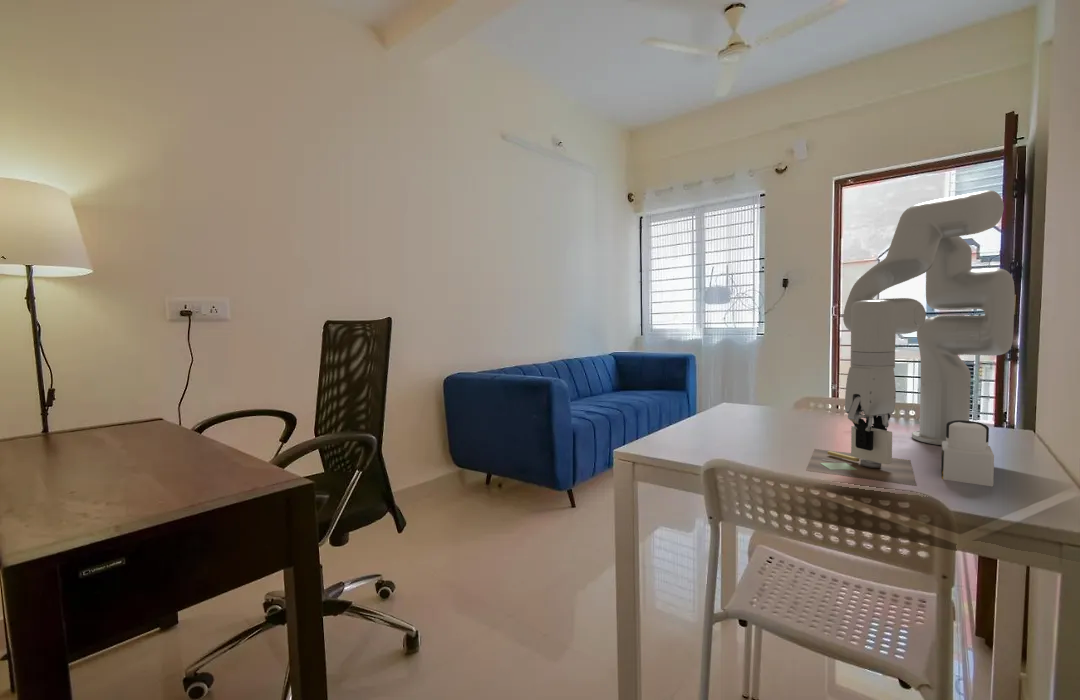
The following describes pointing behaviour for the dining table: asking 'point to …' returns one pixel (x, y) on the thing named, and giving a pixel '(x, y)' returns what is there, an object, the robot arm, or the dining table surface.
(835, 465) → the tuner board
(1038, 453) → the dining table surface
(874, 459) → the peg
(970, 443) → the medicine bottle
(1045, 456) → the dining table surface
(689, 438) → the dining table surface
